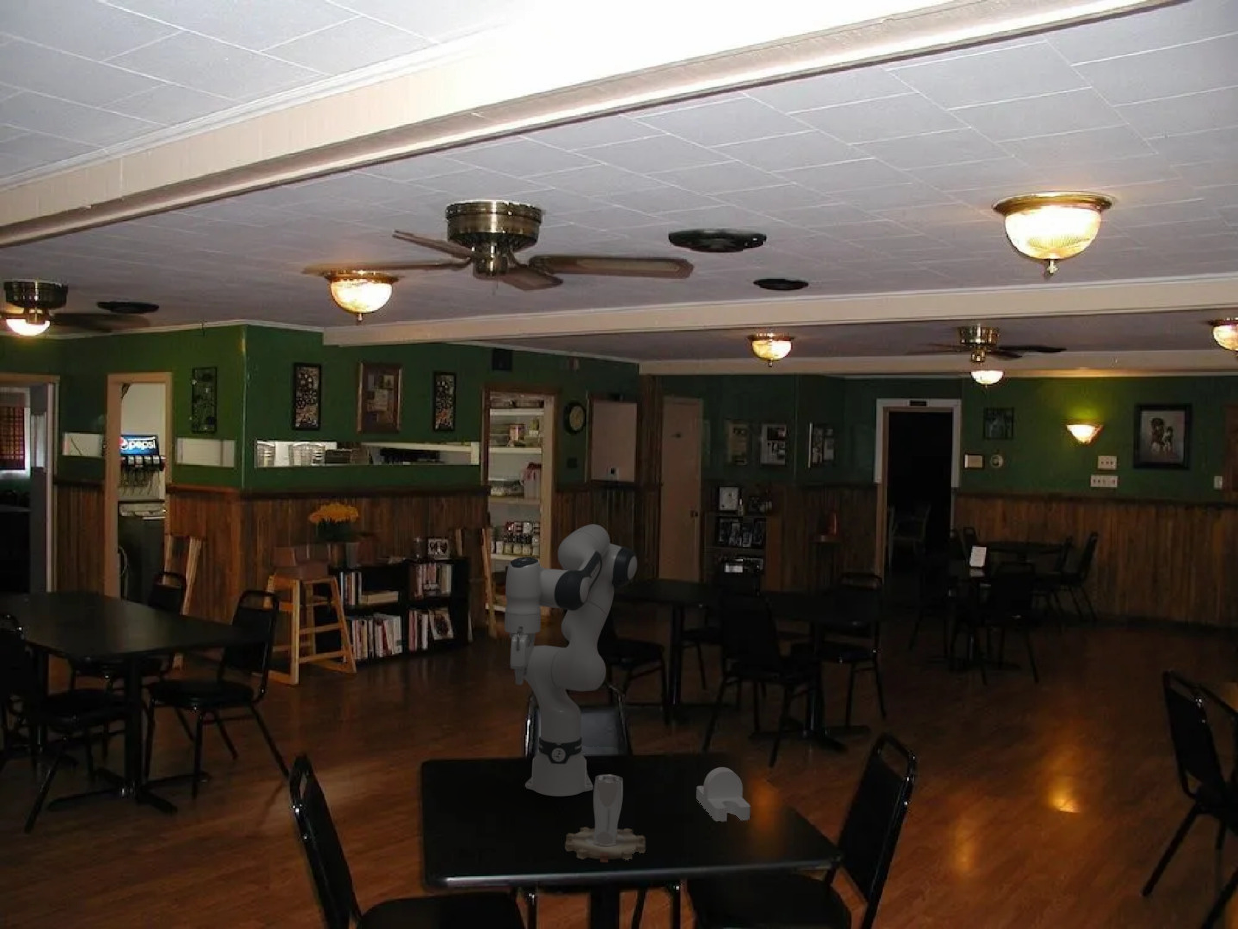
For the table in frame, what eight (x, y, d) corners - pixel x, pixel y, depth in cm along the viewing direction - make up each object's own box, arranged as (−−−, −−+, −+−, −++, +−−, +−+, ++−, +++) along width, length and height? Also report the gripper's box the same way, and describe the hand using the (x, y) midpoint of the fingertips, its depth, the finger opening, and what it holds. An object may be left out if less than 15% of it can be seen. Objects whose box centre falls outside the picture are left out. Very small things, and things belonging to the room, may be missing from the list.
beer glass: (584, 841, 261) (588, 777, 261) (603, 834, 266) (607, 772, 266) (607, 848, 256) (611, 784, 256) (625, 842, 262) (629, 779, 262)
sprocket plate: (568, 830, 272) (568, 824, 272) (644, 832, 272) (645, 826, 272) (562, 861, 253) (563, 854, 253) (645, 863, 253) (645, 857, 253)
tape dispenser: (715, 822, 281) (716, 781, 281) (695, 799, 299) (696, 760, 298) (751, 820, 283) (752, 779, 283) (728, 797, 301) (730, 758, 301)
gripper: (531, 632, 261) (530, 690, 261) (539, 617, 281) (537, 671, 282) (504, 631, 261) (503, 689, 261) (514, 616, 281) (513, 670, 282)
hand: (521, 679), depth 272 cm, fingers open, 8 cm apart
